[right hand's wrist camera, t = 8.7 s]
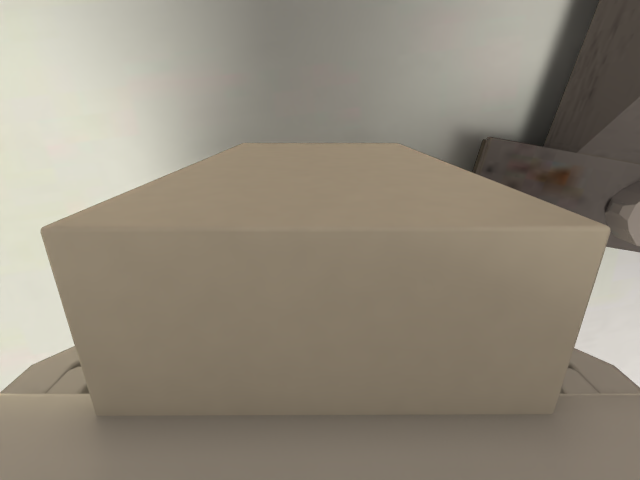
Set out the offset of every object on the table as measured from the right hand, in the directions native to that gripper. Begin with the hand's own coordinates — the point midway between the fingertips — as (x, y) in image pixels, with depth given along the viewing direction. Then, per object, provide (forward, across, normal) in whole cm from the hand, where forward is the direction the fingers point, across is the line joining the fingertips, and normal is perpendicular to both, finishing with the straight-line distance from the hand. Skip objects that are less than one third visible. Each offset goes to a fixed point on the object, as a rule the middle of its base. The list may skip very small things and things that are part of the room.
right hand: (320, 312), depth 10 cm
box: (+5, 0, +9) cm, 10 cm away
